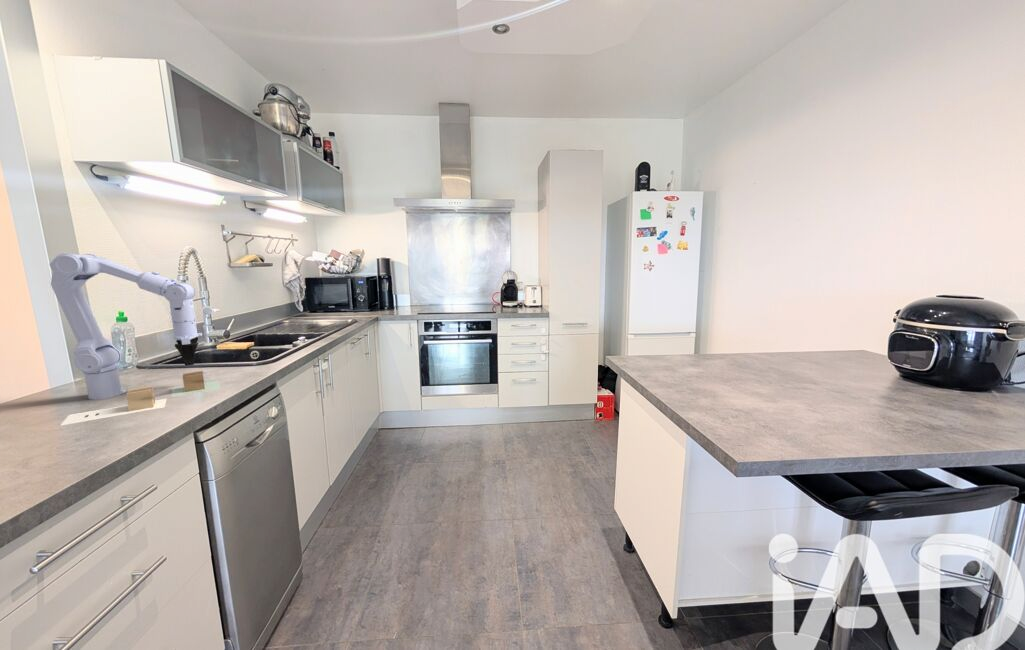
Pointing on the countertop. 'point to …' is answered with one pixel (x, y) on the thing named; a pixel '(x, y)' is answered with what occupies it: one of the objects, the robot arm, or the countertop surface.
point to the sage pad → (208, 387)
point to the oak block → (140, 398)
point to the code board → (107, 413)
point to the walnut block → (193, 381)
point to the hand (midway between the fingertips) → (189, 362)
